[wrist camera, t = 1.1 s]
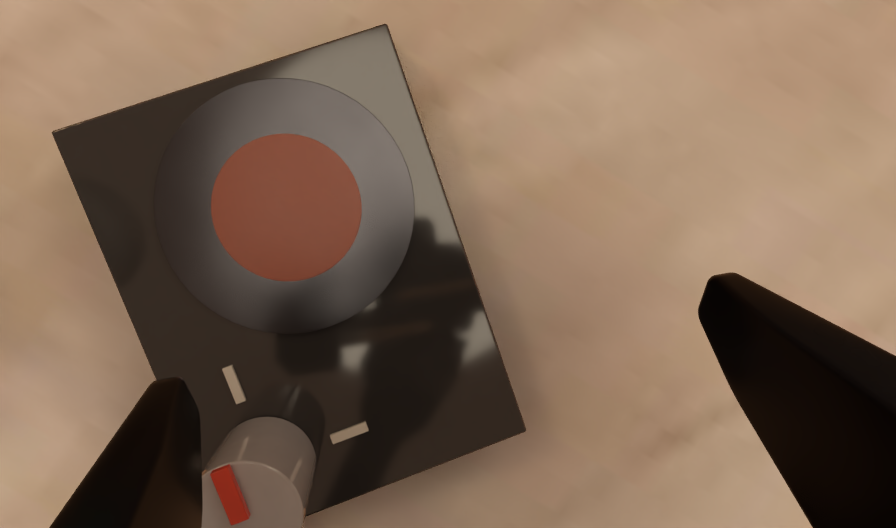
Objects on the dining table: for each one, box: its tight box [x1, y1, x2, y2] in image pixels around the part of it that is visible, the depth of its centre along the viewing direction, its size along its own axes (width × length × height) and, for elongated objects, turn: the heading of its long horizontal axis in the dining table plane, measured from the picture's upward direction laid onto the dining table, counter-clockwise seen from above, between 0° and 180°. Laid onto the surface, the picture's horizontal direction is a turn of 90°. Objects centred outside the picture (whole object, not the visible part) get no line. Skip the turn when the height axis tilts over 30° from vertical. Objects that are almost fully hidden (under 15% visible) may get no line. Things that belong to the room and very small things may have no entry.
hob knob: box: [201, 417, 316, 528], centre depth 20 cm, size 4×4×4 cm
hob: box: [52, 24, 526, 517], centre depth 23 cm, size 17×13×2 cm
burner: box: [154, 78, 415, 334], centre depth 21 cm, size 9×9×1 cm
